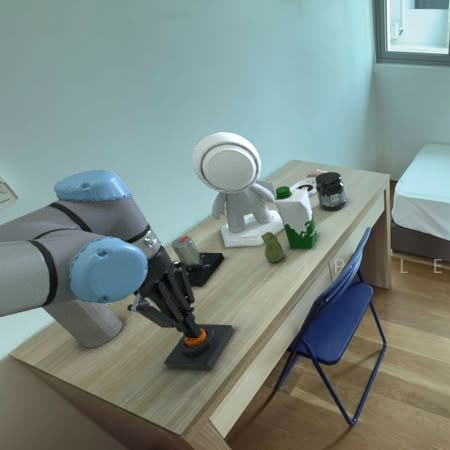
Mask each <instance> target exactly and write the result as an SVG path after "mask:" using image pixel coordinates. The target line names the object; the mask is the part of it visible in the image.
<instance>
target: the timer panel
mask: <svg viewBox="0 0 450 450" xmlns="http://www.w3.org/2000/svg"><path fill="white" fill-rule="evenodd" d="M199 253H200V255H201V257H202V259H203V261H204V264H203V266H202V267H200V268H199V269H197V270H194V271H187V270H186V273H187V276H188V279H189V283H190V286H191V287H201V288H203V286H204V285H205V284H206V283H207V281H208V280H209V279H210V278H211V276H212V275H213V274H214V273H215V271H216V270H217V269H218V268H219V266H220V265H221V264H222V263H223V261H224V260H225V256H224V254H223V253H222V252H201V251H199Z"/></svg>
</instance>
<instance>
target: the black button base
mask: <svg viewBox="0 0 450 450" xmlns="http://www.w3.org/2000/svg"><path fill="white" fill-rule="evenodd" d="M196 324H197V325H198V327H199V328H201V329H203V330H204V331H205V333H206V334H207V337H206V338H205V340H204V341H203V342H202V343H200V344H199V345H197V346H194V347H188V346H187V344H186V343H185V341H184V338H185V335H184V334H183V335H182V336H181V338H180V339H179V340H178V342H177V343H176V345H175V346H174V348H173V349H172V350H171V352H170V353H169V355H168V356H167V357H166V358H165V360H164V361H163V364H164V365H165V366H166V367H167V368H168V369H179V370H182V369H183V370H204V371H212V370H213V368H214V366H215V364H216V363H217V361H218V360H219V358H220V356H221V354H222V353H223V351H224V350H225V348H226V346H227V344H228V343H229V341H230V340H231V337H232V335H233V334H234V333H235V328H234V327H233V326H232V324H209V323H196Z"/></svg>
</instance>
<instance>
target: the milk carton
mask: <svg viewBox="0 0 450 450" xmlns="http://www.w3.org/2000/svg"><path fill="white" fill-rule="evenodd" d="M275 189H276V194H277V197H276V199H275V201H274V203H273V204H274V205H275V206H276V208H277V210H278V213H279V216H280V218H281V219H282V222H283V225H284V231H285V234H286V238H287V242H288V244H289V245H288V246H289V248H290V249H312V248H313V246H314V244H315V241H316V238H317V236H318V234H317V228H316V223H315V219H314V214H313V211H312V206H311V203H310V196H308V192H307V189H290V187H289V186H286V185H285V186H284V185H283V186H279V187H277V188H275Z"/></svg>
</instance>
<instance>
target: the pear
mask: <svg viewBox="0 0 450 450" xmlns="http://www.w3.org/2000/svg"><path fill="white" fill-rule="evenodd" d="M261 237H262V239H263V241H264V242H265V243H264V244H265V249H264V257H265V259H266V260H267V261H268V262H271V263H276V262H279V261H280V260H282V259H283V257H284V250H283V246H282V244H281V243H280V242H279V240H278V238H277V236H276V235H274V234H273V233H272V232H266V233H265V234H264V235H262V236H261Z"/></svg>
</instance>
